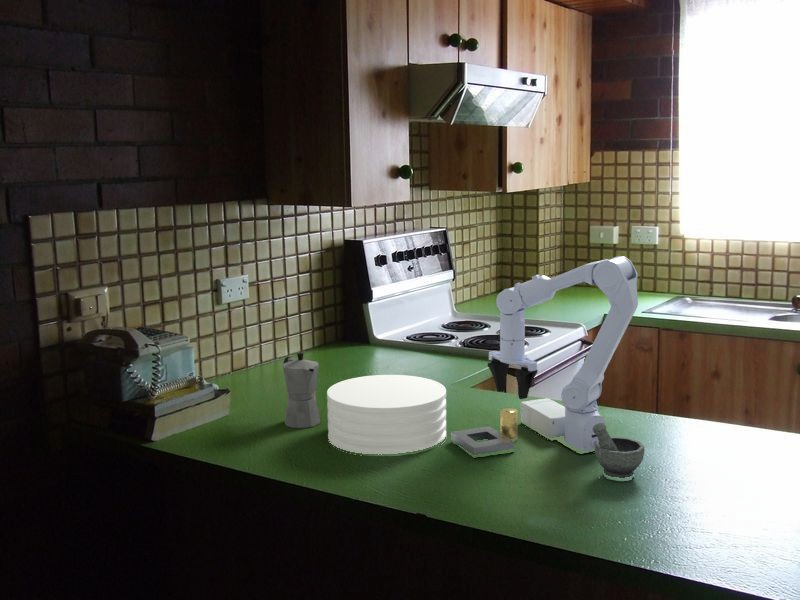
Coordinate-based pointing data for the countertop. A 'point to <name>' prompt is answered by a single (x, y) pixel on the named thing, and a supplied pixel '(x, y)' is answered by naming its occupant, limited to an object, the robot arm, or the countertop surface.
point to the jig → (491, 445)
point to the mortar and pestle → (617, 453)
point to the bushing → (509, 422)
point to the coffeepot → (301, 392)
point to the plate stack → (386, 414)
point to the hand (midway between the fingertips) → (511, 394)
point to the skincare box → (544, 416)
